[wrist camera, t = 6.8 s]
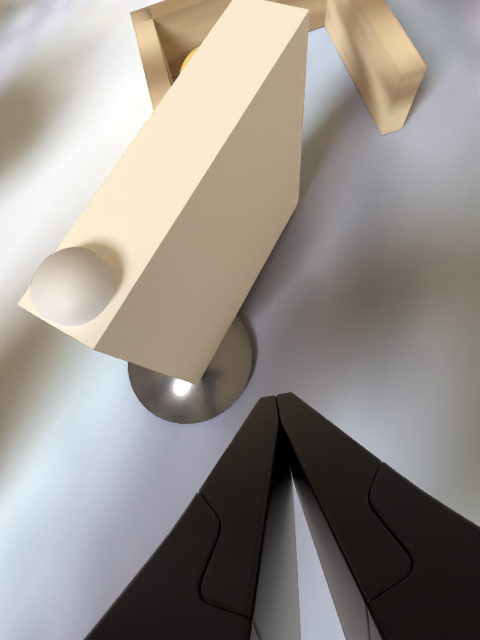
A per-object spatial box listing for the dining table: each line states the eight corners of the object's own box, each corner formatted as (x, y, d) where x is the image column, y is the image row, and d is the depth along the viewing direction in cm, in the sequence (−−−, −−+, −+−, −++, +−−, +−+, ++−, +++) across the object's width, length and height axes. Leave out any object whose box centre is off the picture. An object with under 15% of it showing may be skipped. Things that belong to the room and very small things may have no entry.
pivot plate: (263, 410, 15) (263, 410, 15) (135, 434, 16) (132, 434, 16) (240, 287, 17) (240, 285, 17) (126, 312, 18) (124, 310, 18)
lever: (298, 205, 18) (310, -9, 9) (198, 385, 16) (82, 345, 7) (259, 191, 18) (233, -23, 9) (158, 363, 16) (2, 299, 7)
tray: (401, 128, 19) (426, 66, 15) (184, 198, 19) (163, 152, 16) (335, 9, 22) (344, -63, 19) (152, 71, 23) (130, 12, 20)
